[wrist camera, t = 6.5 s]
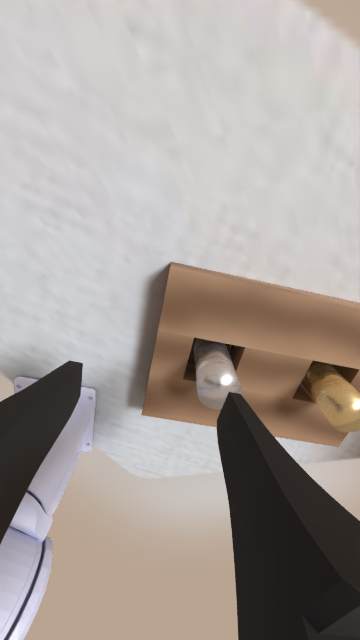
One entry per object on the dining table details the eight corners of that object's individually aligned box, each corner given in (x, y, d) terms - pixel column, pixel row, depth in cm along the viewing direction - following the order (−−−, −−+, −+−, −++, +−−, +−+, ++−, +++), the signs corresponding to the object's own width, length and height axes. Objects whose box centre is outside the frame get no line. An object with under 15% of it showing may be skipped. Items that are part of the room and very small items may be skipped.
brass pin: (316, 382, 22) (361, 435, 17) (288, 376, 22) (324, 428, 16) (331, 357, 21) (384, 405, 15) (301, 351, 21) (344, 398, 15)
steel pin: (221, 363, 21) (234, 411, 16) (190, 358, 21) (193, 405, 16) (229, 336, 20) (247, 378, 15) (197, 330, 20) (202, 371, 14)
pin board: (323, 425, 24) (338, 446, 22) (145, 395, 23) (141, 414, 21) (399, 311, 19) (429, 324, 17) (171, 261, 17) (169, 267, 15)
